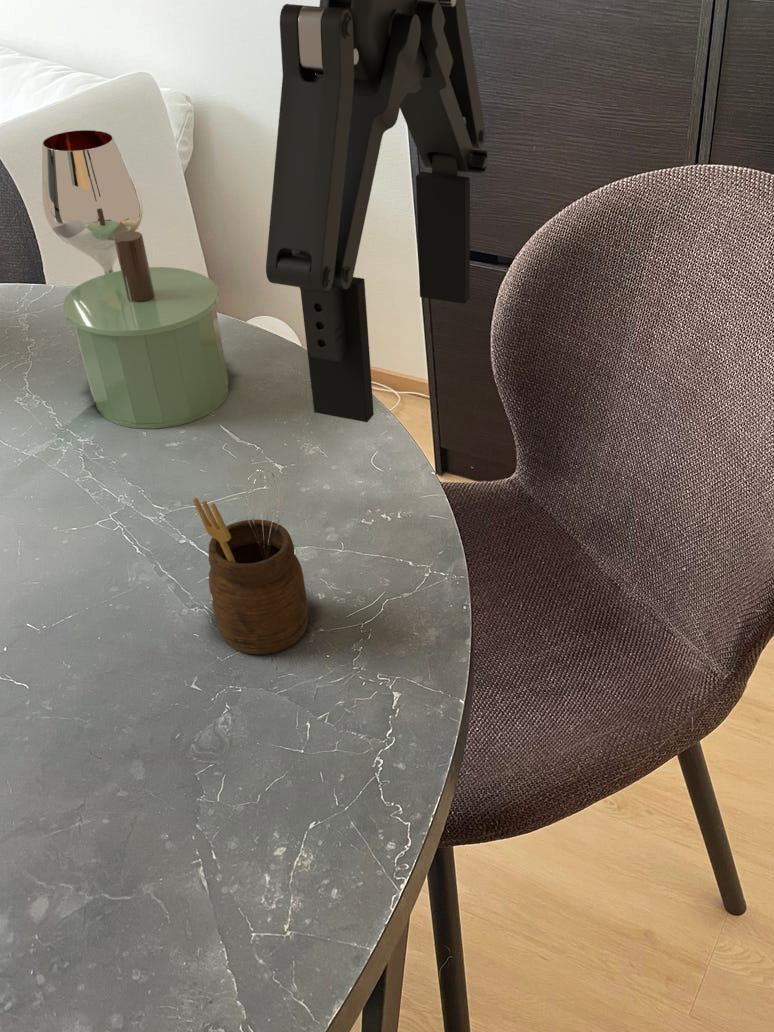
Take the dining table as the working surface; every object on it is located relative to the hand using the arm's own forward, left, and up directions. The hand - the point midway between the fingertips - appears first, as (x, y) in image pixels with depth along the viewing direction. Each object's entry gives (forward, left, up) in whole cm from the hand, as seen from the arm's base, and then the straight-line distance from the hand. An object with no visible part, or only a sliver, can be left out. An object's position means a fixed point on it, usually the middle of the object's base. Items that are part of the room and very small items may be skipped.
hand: (398, 351), depth 53 cm
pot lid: (-33, +24, -12) cm, 42 cm away
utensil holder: (-10, -1, -21) cm, 23 cm away
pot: (-33, +24, -21) cm, 45 cm away
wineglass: (-42, +32, -21) cm, 57 cm away
